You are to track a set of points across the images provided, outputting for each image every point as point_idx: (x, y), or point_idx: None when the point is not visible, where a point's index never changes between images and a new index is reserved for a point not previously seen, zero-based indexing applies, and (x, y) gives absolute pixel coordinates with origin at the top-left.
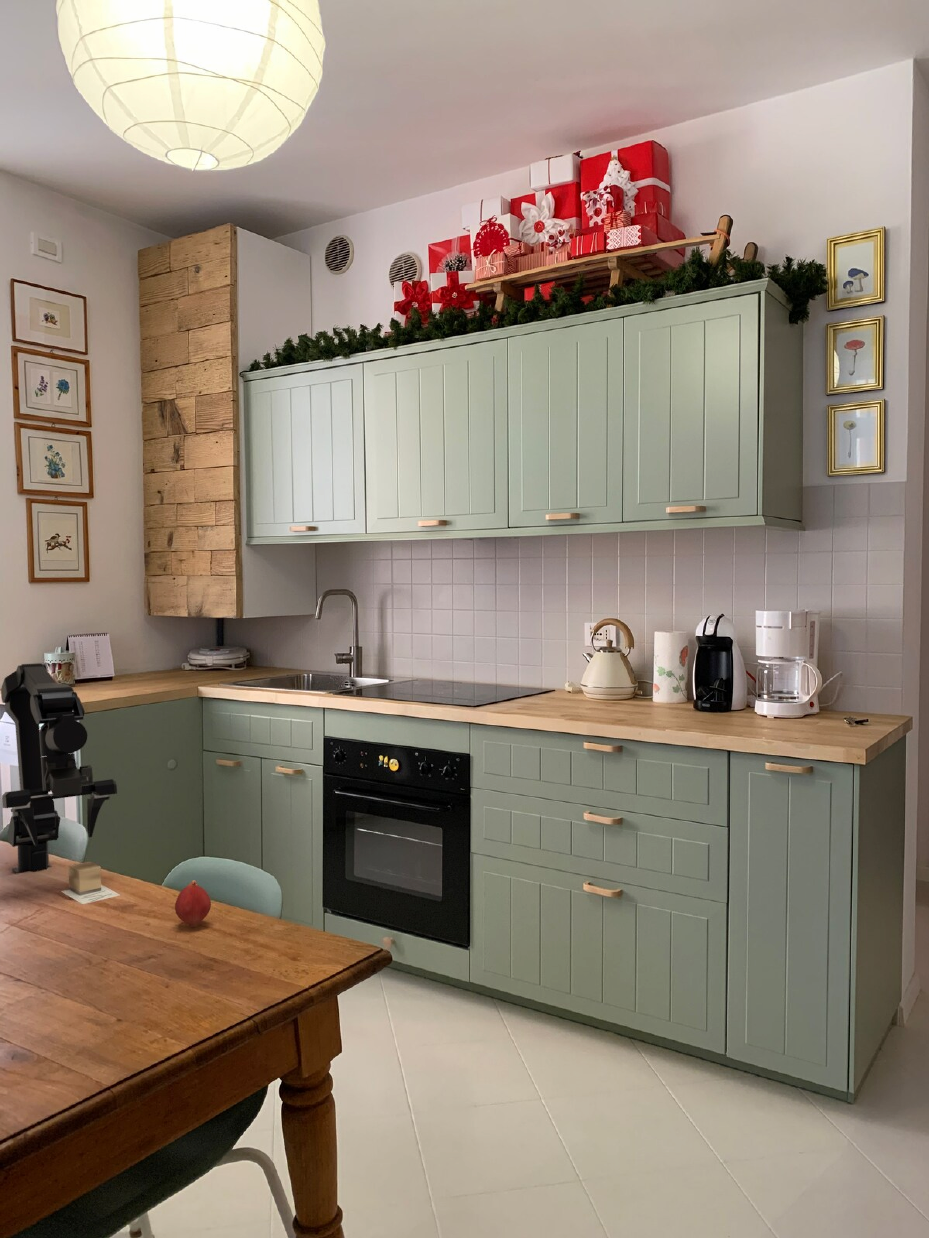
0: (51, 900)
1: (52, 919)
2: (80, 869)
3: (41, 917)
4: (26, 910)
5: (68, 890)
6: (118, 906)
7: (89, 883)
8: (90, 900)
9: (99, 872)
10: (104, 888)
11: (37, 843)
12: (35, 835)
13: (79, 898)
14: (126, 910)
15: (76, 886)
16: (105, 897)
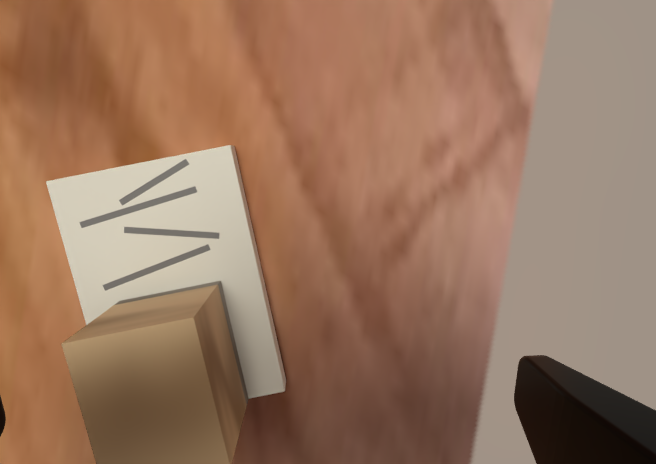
0: (330, 351)
1: (370, 86)
2: (180, 355)
3: (406, 142)
4: (442, 274)
5: (254, 385)
6: (82, 97)
7: (160, 303)
8: (188, 179)
9: (85, 330)
10: None
11: (531, 359)
12: (601, 403)
13: (229, 237)
14: (57, 14)
15: (223, 327)
16: (118, 184)
